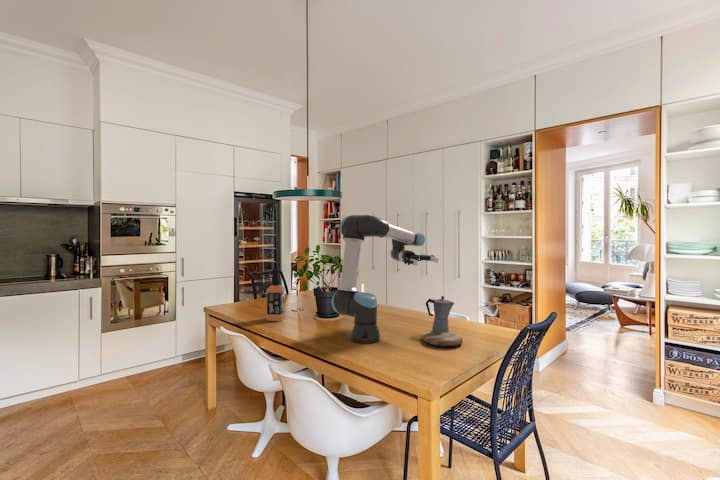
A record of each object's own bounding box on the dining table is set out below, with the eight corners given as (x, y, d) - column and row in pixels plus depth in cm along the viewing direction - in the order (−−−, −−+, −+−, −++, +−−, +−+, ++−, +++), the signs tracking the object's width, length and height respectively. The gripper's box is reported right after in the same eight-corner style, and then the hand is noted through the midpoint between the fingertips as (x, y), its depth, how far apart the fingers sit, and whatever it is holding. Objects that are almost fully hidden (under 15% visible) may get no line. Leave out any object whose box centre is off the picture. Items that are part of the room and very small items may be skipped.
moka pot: (454, 335, 200) (454, 298, 199) (425, 333, 203) (425, 297, 202) (453, 330, 209) (454, 295, 208) (425, 329, 212) (425, 294, 212)
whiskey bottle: (281, 321, 230) (281, 269, 229) (265, 321, 230) (265, 269, 229) (285, 317, 240) (285, 267, 239) (270, 317, 240) (269, 267, 239)
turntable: (415, 339, 188) (415, 336, 188) (439, 332, 200) (439, 330, 200) (446, 348, 174) (446, 345, 174) (470, 340, 186) (470, 338, 186)
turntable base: (422, 342, 188) (422, 340, 188) (440, 337, 197) (440, 335, 197) (445, 349, 177) (445, 346, 177) (463, 343, 186) (463, 341, 186)
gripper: (424, 260, 232) (446, 265, 213) (389, 265, 222) (408, 271, 202) (424, 248, 231) (446, 252, 212) (389, 252, 221) (408, 257, 201)
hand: (427, 261), depth 207 cm, fingers open, 13 cm apart
